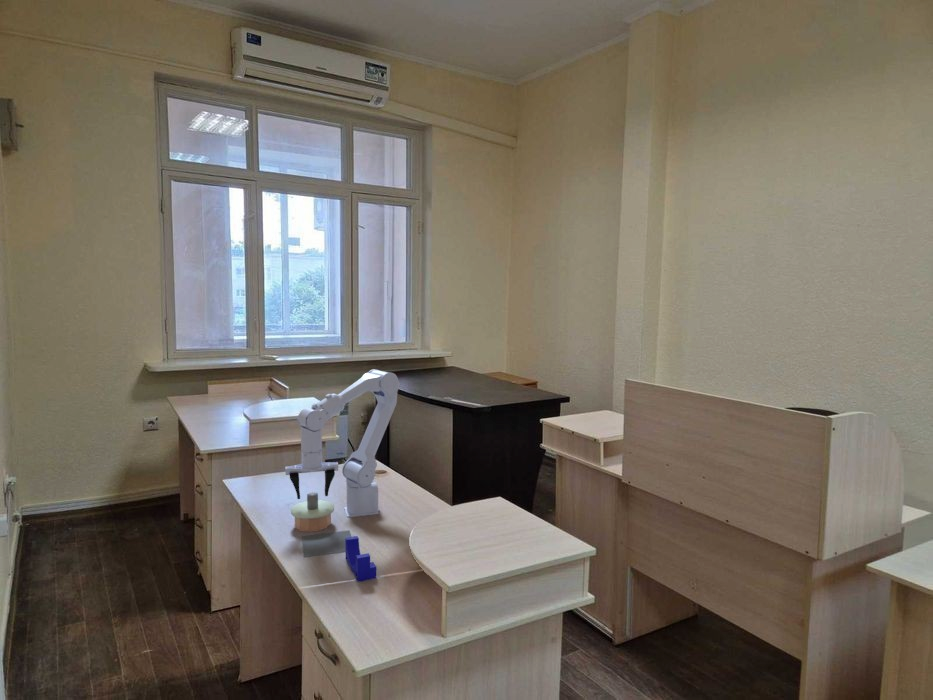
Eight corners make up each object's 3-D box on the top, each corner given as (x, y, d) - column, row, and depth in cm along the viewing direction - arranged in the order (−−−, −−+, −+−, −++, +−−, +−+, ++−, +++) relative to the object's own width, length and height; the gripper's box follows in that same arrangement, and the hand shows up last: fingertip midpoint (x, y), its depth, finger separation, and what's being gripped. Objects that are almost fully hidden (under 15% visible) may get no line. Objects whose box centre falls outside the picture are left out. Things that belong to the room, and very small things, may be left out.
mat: (349, 531, 163) (349, 530, 163) (355, 551, 151) (355, 550, 151) (301, 537, 159) (301, 535, 159) (304, 558, 147) (304, 557, 147)
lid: (331, 500, 174) (331, 485, 174) (336, 516, 163) (336, 499, 162) (289, 505, 170) (289, 489, 170) (292, 521, 159) (291, 504, 158)
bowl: (329, 516, 174) (328, 502, 173) (332, 529, 164) (332, 514, 164) (294, 520, 171) (293, 505, 170) (295, 534, 161) (295, 518, 161)
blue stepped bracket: (376, 578, 138) (376, 554, 137) (357, 582, 136) (357, 558, 135) (363, 557, 149) (362, 534, 148) (345, 560, 147) (345, 537, 146)
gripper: (285, 456, 159) (286, 504, 161) (339, 452, 164) (339, 498, 165) (284, 449, 166) (285, 495, 167) (336, 445, 170) (337, 490, 172)
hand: (312, 496), depth 167 cm, fingers open, 7 cm apart
